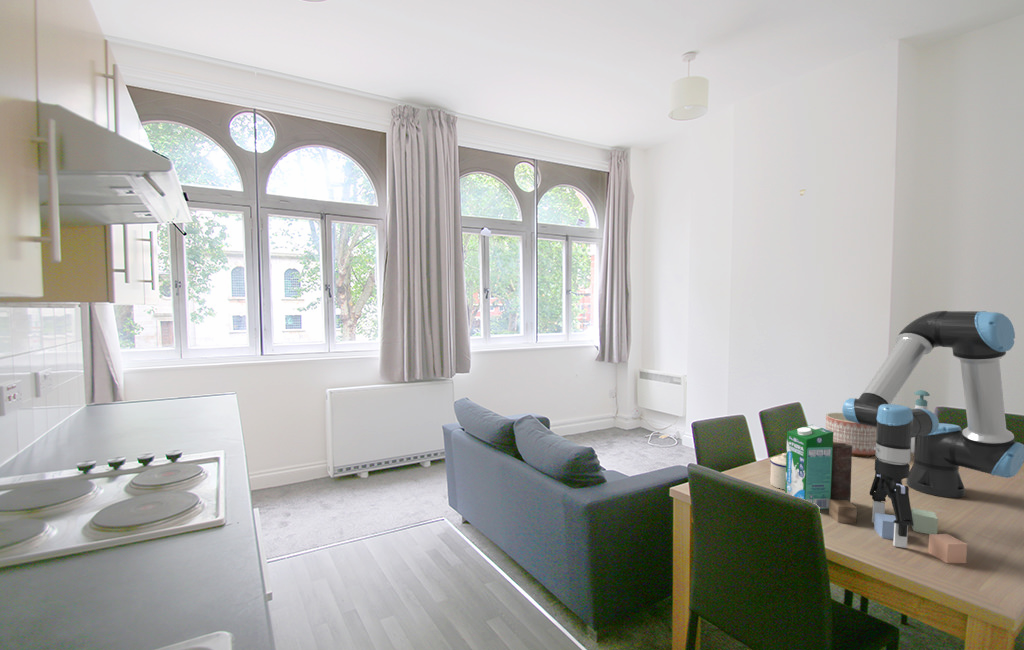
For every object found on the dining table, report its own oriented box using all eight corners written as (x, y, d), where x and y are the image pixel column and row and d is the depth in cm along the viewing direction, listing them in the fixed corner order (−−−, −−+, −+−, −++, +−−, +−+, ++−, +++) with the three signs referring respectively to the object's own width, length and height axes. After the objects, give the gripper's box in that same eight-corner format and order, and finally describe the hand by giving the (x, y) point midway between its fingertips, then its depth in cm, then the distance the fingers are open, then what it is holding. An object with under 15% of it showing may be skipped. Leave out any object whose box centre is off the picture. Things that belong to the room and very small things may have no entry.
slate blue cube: (895, 532, 131) (896, 515, 131) (903, 541, 127) (904, 523, 126) (874, 529, 133) (875, 512, 133) (881, 538, 128) (882, 520, 128)
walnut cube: (846, 516, 141) (847, 500, 141) (856, 524, 136) (856, 507, 136) (828, 515, 142) (829, 499, 142) (837, 522, 137) (838, 506, 137)
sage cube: (933, 528, 134) (934, 512, 133) (937, 536, 129) (937, 518, 129) (910, 524, 136) (911, 507, 136) (913, 531, 132) (914, 514, 132)
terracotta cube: (946, 552, 121) (947, 534, 121) (966, 563, 116) (967, 544, 116) (928, 552, 121) (929, 534, 121) (946, 563, 116) (947, 544, 116)
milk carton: (784, 497, 154) (787, 424, 153) (810, 497, 155) (812, 423, 154) (804, 510, 145) (806, 432, 144) (830, 509, 146) (833, 431, 145)
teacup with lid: (794, 493, 158) (795, 460, 157) (765, 485, 165) (766, 453, 164) (805, 484, 166) (806, 452, 165) (777, 477, 173) (778, 446, 172)
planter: (838, 456, 196) (840, 422, 195) (816, 443, 215) (817, 411, 214) (889, 459, 193) (890, 424, 192) (862, 445, 211) (863, 413, 211)
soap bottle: (937, 452, 201) (940, 390, 199) (934, 457, 195) (937, 393, 194) (905, 446, 209) (907, 387, 208) (901, 450, 204) (904, 389, 202)
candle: (842, 510, 145) (844, 448, 144) (817, 501, 151) (819, 441, 150) (855, 505, 148) (857, 444, 147) (830, 497, 155) (832, 438, 154)
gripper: (858, 445, 142) (855, 513, 143) (897, 474, 118) (892, 554, 119) (888, 448, 139) (884, 517, 140) (933, 478, 116) (928, 560, 117)
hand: (888, 534), depth 130 cm, fingers open, 13 cm apart
